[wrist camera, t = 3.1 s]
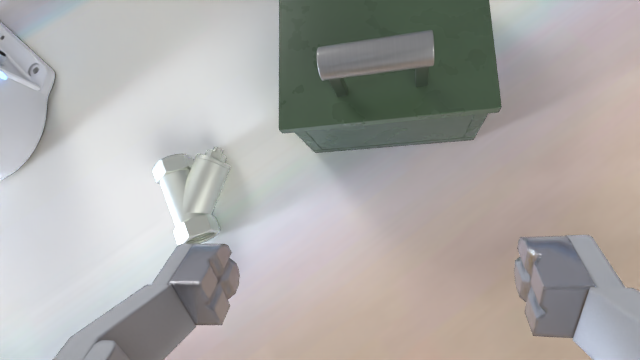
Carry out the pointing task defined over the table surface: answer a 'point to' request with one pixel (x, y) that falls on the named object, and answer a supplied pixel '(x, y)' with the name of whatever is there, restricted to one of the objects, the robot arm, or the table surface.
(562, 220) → the table surface
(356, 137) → the box
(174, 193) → the pipe fitting
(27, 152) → the robot arm
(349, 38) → the lid
